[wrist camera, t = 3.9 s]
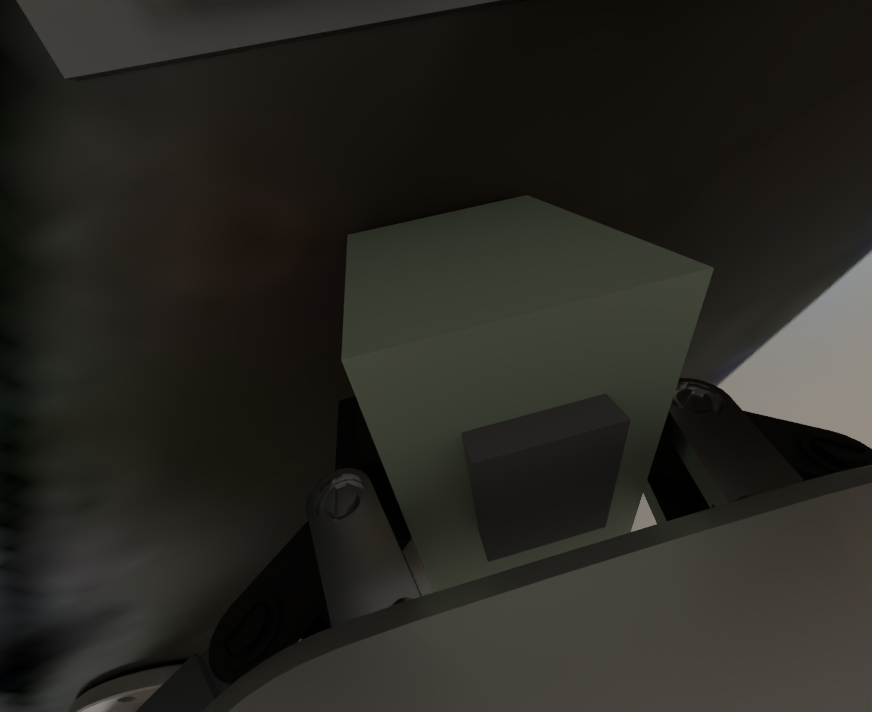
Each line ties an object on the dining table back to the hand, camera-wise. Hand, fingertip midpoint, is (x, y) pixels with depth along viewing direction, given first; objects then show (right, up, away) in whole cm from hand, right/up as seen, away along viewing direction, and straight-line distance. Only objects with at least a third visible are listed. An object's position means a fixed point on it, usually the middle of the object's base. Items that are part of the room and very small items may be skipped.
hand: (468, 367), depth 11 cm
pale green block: (0, +1, +1) cm, 1 cm away
